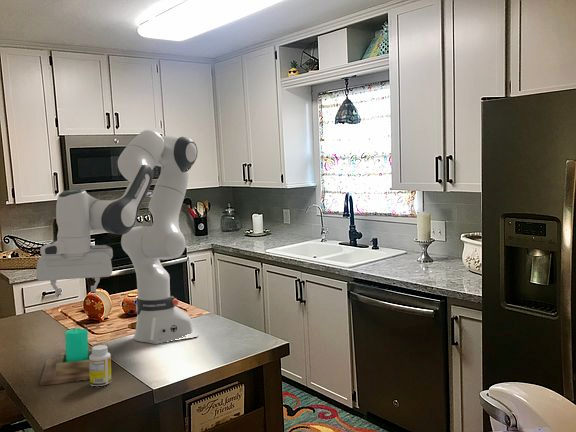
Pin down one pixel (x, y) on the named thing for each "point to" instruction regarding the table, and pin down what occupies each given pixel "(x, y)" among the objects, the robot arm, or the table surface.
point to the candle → (76, 344)
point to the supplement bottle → (100, 366)
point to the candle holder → (65, 370)
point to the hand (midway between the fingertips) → (76, 293)
